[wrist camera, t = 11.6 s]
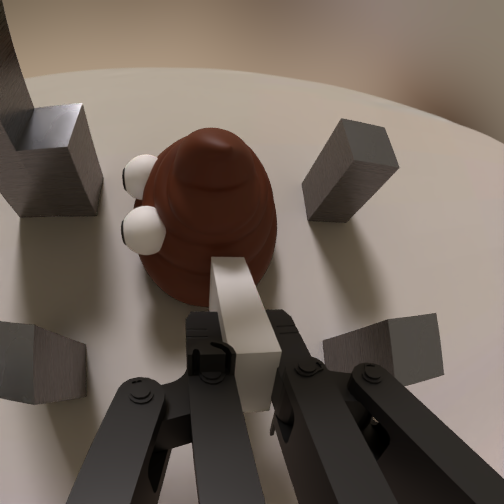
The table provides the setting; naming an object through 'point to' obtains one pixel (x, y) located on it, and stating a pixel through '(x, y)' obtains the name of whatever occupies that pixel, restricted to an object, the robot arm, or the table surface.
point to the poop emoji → (199, 212)
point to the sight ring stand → (15, 132)
